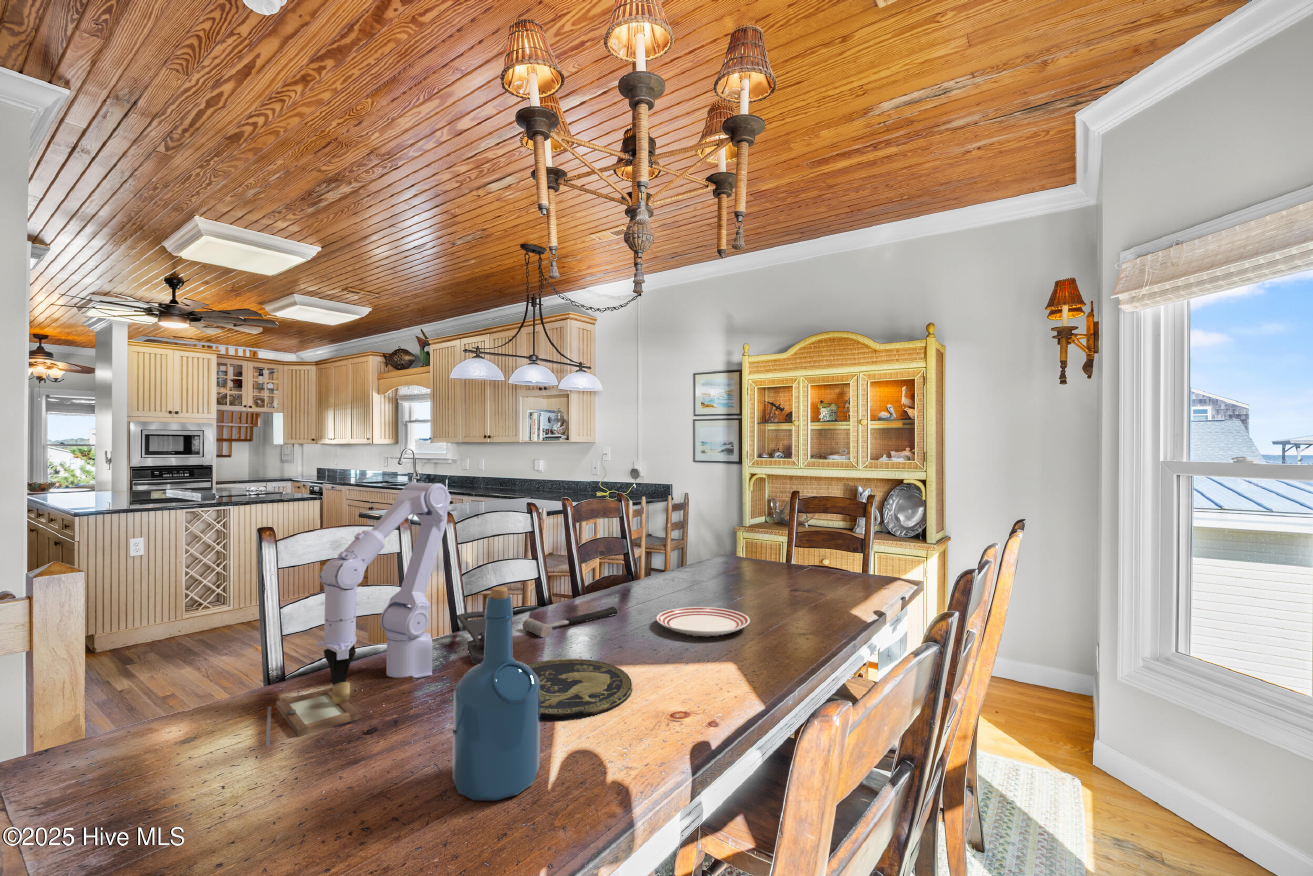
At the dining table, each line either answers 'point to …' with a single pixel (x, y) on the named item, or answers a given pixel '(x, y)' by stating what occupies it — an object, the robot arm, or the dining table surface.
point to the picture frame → (318, 709)
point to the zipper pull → (475, 634)
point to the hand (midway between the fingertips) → (338, 684)
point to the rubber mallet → (563, 622)
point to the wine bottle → (496, 715)
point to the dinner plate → (703, 621)
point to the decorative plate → (579, 688)
